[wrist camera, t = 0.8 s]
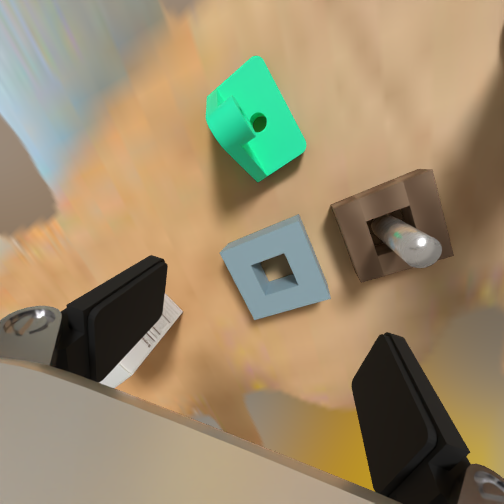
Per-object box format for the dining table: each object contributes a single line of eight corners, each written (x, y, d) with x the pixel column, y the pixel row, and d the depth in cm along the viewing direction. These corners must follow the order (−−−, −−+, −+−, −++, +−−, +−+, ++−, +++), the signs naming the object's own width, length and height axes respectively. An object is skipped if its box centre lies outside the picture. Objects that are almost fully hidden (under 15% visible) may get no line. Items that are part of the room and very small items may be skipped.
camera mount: (308, 149, 31) (312, 142, 21) (260, 181, 33) (245, 187, 24) (262, 60, 28) (243, 8, 19) (214, 102, 31) (176, 73, 22)
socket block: (298, 214, 34) (298, 220, 30) (327, 283, 37) (330, 298, 32) (228, 243, 37) (219, 252, 33) (259, 304, 40) (254, 320, 36)
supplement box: (157, 333, 47) (98, 401, 34) (125, 301, 46) (51, 359, 32) (185, 311, 44) (132, 377, 30) (151, 277, 43) (80, 330, 29)
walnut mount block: (417, 169, 29) (432, 169, 26) (438, 246, 32) (453, 255, 28) (330, 204, 32) (334, 209, 29) (355, 271, 35) (361, 282, 32)
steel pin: (392, 210, 31) (437, 231, 21) (399, 231, 32) (445, 261, 22) (368, 219, 32) (399, 243, 22) (374, 239, 33) (408, 272, 23)
